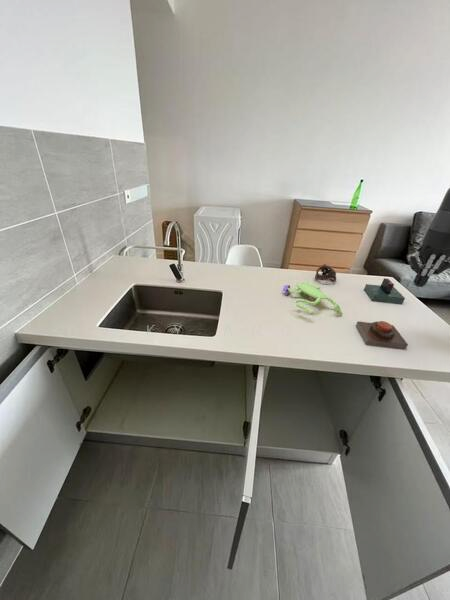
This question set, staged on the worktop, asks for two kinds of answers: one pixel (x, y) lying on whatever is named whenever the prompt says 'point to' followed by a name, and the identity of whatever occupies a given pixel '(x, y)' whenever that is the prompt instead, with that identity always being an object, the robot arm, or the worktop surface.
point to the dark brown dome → (324, 269)
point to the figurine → (312, 292)
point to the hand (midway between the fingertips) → (418, 285)
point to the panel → (383, 294)
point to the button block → (380, 336)
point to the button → (384, 326)
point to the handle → (386, 286)
